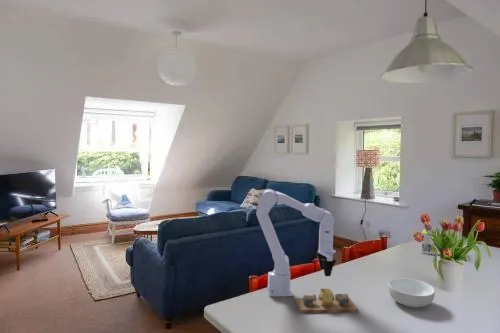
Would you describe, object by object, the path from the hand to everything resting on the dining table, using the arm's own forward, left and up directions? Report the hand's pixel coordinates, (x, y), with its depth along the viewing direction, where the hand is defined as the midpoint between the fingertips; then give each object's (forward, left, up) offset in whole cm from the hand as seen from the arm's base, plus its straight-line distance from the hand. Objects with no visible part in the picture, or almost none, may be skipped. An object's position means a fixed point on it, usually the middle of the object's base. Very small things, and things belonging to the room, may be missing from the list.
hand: (325, 272), depth 148 cm
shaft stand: (-3, -11, -9) cm, 15 cm away
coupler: (-2, -11, -8) cm, 14 cm away
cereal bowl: (+32, -9, -10) cm, 35 cm away
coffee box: (+79, +57, -10) cm, 98 cm away
